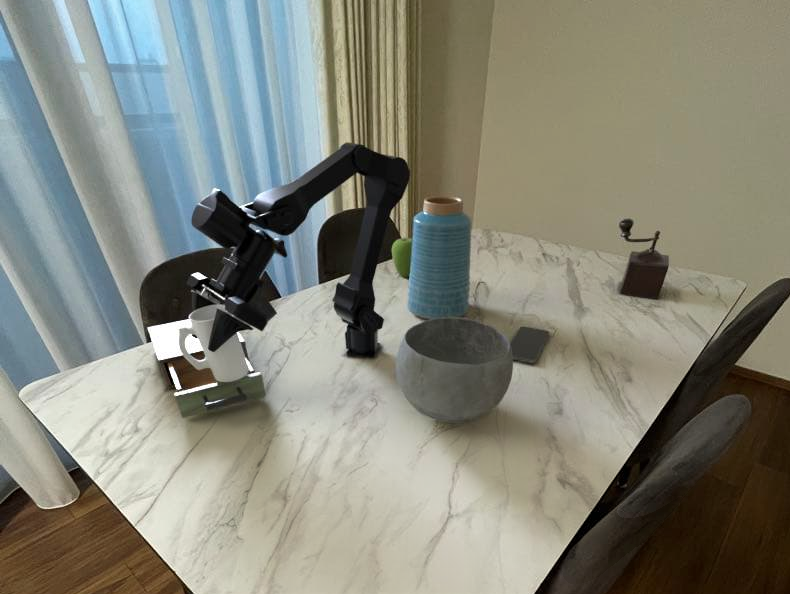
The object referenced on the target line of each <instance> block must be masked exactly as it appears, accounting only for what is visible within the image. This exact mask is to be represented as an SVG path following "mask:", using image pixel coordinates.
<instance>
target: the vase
mask: <svg viewBox="0 0 790 594" xmlns="http://www.w3.org/2000/svg"><path fill="white" fill-rule="evenodd" d="M412 220H413V221H412V222H413V225H412V236H411V237H412V238H411V239H412V251H411V264H410V265H411V266H410V274H409V276H408V277H409V278H408V286H407V287H408V293H407V302H406V304H407V305H406V306H407V308H408V309H407V310H408V311H409V312H411V313H412V314H413V315H415V316H416V317H418V318H421V319H423V320H426V321H427V320H431V319H434V318H441V317H458V318H461V317H463V316H464V315H466V313H467V312H468V311H469V308H470V301H469V300H470V290H471V289H470V287H471V286H470V285H471V280H470V279H471V274H470V272H471V253H472V252H471V251H472V249H471V248H472V226H473V225H472V223H473V219H472V217H471V216H470V215H469V214H467V213H466V212H465V211H464V200H463V199H462V198H460V197H457V196H449V195H432V196H429V197H425V198H424V200H423V210H421V211H420V212H418V213H417V214H415V215H414V217H413V219H412Z"/></svg>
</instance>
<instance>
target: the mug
mask: <svg viewBox="0 0 790 594" xmlns="http://www.w3.org/2000/svg"><path fill="white" fill-rule="evenodd" d="M217 308H219V309H221V310H223V311H225V312H226V313H227V311H226V310H225V305H224V304H223V305H222V304H220V303H219V304H218V305H210V306H205V307H202V308H200V309H197V310H195V311H194V312H192V311H191V313H189V315H188V319H189V320H190V321H191V324H192V326H191V327H189V328H187V327H185V326H184V327H179V328H178V330H179V336H178V344H179V348H180V351H181V353H182V354H183V356H184V357H185V358H186V359H187V360H188V361H189V362H190V363H191V364H192V365H193V366H194V367H195V368H196V369H197V370H201V369H204V368H210V369H211V370H212V372H213V375H214V377H215V379H216V380H217V381H219V382H232V381H236V380H238V379H240V378H242V377H244V376H245V375H246V374H247V373H248V371H249V368H248V365H247V362H246V358H245V355H244V352H243V349H242V346H241V342H240V339H239V336H238V333H236V334H235V335H233V336H232V337H231V338H230V339H229V340H227V341H226V342H225V343H224V344H223V345H222V346H221V347H219V348H218V349H217V350H216V351H215V352H212V351H210V350H208V345H209V340H210V336H211V331H212V327H213V323H214V319H215V315H216V310H217ZM191 334H194V335H196V336H197V338H198V340H199V342H200V345H201V347H202V349H203V351H204V354H205V359H203V360H196V359H195V358H193V357H192V356H191V355H190V354H189V352H188V351H187V349H186V346H185V341H186V338H187V337H188V336H189V335H191Z"/></svg>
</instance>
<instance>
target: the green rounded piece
mask: <svg viewBox="0 0 790 594" xmlns="http://www.w3.org/2000/svg"><path fill="white" fill-rule="evenodd" d="M411 251H412V238H410V237H406V236H405V237H401V238H398V239H396V240H395V241H394V242H393V244H392V246H391V256H392V257H391V258H392V261H393V265H394V267H395V269H396V272H397V273H398V274H399V276H400V277H401V278H408V277H409V274H410V266H411V265H410V264H411Z"/></svg>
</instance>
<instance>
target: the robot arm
mask: <svg viewBox="0 0 790 594" xmlns="http://www.w3.org/2000/svg"><path fill="white" fill-rule="evenodd" d="M356 174H359V175H361V176H363V177H364V178H363V179H364V181H363V188H364V193H365V198H366V206H365V209H364V214H363V219H362V222H361V226H360V229H359V234H358V238H357V243H356V248H355V251H354V256H353V259H352V264H351V268H350V272H349V275H348V277H347V279H346V280H344V282H343V283H341V282H337V283H336V285H335V292H334V296H333V298H332V300H331V301H332V302H333V310H334V311H335V314H336V315H337V316H338V317H339V318H340V319H341V321H342V323H344V324H347V325H346V330H345V332H344V340H345V341H344V342H345V349H346V350H347V351H346V354H345V355H346V356H349V357H361V358H372V359H373V358H375V357H376V355H377V352H378V351H379V348H380V346H381V344H380V342H379V335H378V333H379V332H378V331H379V330H381V329H383V326H384V322H385V319H384V318H383V316H381V314H378V313H377V312H376V311H375V305H376V296H375V295H376V294H375V290H374V285H373V284H374V283H373V282H374V279H375V275H376V271H377V267H378V264H379V260H380V256H381V251H382V248H383V245H384V240H385V236H386V233H387V229H388V225H389V221H390V218H391V214H392V211H393V209H394V208H395V207H396V206H397V205H398V204H399V202H400V201H402V199H403V197H404V195H405V192H406V190H407V188H408V185H409V182H410V179H411V178H410V177H411V169H409V163H407V161H406V160H405V159H404V158H403V157H400V156H395V155H394V156H393V155H389V154H383V153H380V152H377V151H374V150H372V149H370V148H369V147H367V146H365V145H364V144H361V143H355V142H350V141H349V142H348V141H346V142H344V143H343V144H341V146H340V147H339V149H337V150H335V152H333V153H332V154H330V155H329V156H327V157H325V159H323V160H322V161H321V162H319V163H318V164H316V165H315V166H313V167H312V168H311V169H309V170H308V171H307V172H305V173H304V174H302V175H301V176H300V177H298V178H297V179H296V180H293V181H292V182H289V183H287V184H283V185H279V186H275V187H272V188H269V189H268V190H265V191H263V192H261V193H259V194H257V196H256V197H255V198H254V199H253V201H252V202H250V203H247V204H243V205H240V206H238V204H236V203H234V202H233V201H232V200H231V199H230V197H229V196H228V195H227V194H226V193H225V192H224V191H222V190H220V189H217V188H213V189H212V191H211V193H210V194H209V195H207V196H205V197H204V198H203V199H202V200H201V201H200V202H199V203H197V204H196V206H195V207H194V209H193V211H192V215H191V220H190V221H191V226H192V227H193V228H194V229H195V230H197V231H198V232H200V233H201V234H203V235H204V236H206V237H207V238H209V239H210V240H212V242H214V243H215V244H217V245H219V246H220V247H221V248H223V249H226V250H229V249H231V248H234V249H233V250H232V252H231V253H230V256H229V258H227V257H225V256H223V258H222V259H221V261H220V263H221V264H223V265H224V266H223V268H222V270H221V272H220V273H219V276H218V277H217V279H216V280H215V279H214V278H211V279H209V278H208V277H206V276H204V275H203V274H201V273H200V272H195V273H192V274H190V276H189V277H188V279H187V281H186V285H187V286H189V287H190V288H192V289H191V290H190V294H191V313H192V312H194V311H195V310H197V309H200V308H202V307H205V306H210V305H218V304H221V305H225V310H226V311H227V313H226V312H225V311H223V310H221V309H219V308H217V310H216V315H215V319H214V323H213V327H212V331H211V336H210V340H209V345H208V350H210V351H212V352H215V351H216V350H217V349H218V348H219V347H221V346H222V345H223V344H224V343H225V342H226V341H227V340H229V339H230V338H231V337H232V336H233V335H235V334H236V333H237V332H239V333H240V332H243V331H253V330H254V328H255V329H257V330H258V331H260V332H262V333H263V332H264V331H265V329H266V327H267V325H268V324H269V322H270V321H271V320H272V319H273V318H274V317H275V316H276V315H277V314H278V312H277V311H276V309H275V308H274V307H273V305H272V303H271V302H270V301H269V299H268V298H267V296H266V295H264V293H263V292H262V290H263V289H264V287H265V282H264V281H263V280H262V279H261V278H262V277H263V275H264V273H265V271H266V269H267V268H268V267H269V264H270V262H271V261H272V259H273V257H274V256H275V255H278V256H280V257H283V258H285V259H286V258H287V257H288V253H287V250H286V246H285V240H284V239H280V238H279V237H276V238H273V237H272V236H271V235H270V234H268V233H267V232H266V231H265V230H267V231H269V232H272V233H273V234H275V235H276V234H277V235H279V236H284V237H288V236H290V235H292V234H293V233H294V232H296V231H297V229H298V228H300V226H301V225H302V224H303V223H304V222H305V221H306V219H307V218H308V214H309V213H310V210H311V209H312V208H313V207H314V205H316V204H317V203H319V202H321V200H322V199H324V198H325V197H327V196H328V195H329V194H331V193H333V192H334V191H335V190H337V188H339V187H340V186H341V185H343V184H344V183H346V182H347V181H348V180H350V178H353V176H355V175H356ZM250 225H252V226H255V227H258V228H260V229H258V230H254V228H252V227H251V226H250ZM193 289H194V290H193ZM191 335H192V337H194V338H196V339H198V338H197V336H196V335H194V334H191Z"/></svg>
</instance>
